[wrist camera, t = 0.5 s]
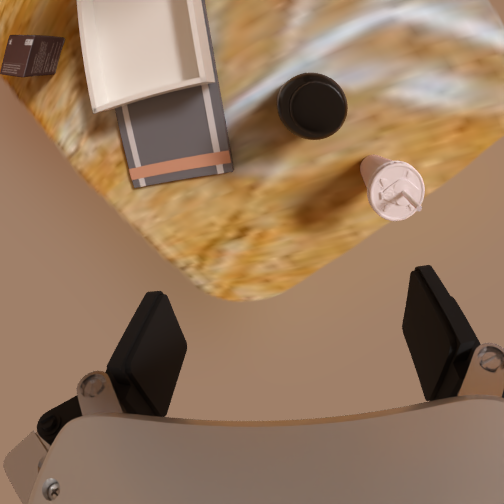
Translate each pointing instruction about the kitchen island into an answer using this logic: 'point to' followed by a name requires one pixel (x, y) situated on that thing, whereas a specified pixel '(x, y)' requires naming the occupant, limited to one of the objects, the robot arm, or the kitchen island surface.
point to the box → (31, 55)
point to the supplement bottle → (312, 106)
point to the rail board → (176, 133)
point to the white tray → (142, 49)
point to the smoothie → (392, 187)
